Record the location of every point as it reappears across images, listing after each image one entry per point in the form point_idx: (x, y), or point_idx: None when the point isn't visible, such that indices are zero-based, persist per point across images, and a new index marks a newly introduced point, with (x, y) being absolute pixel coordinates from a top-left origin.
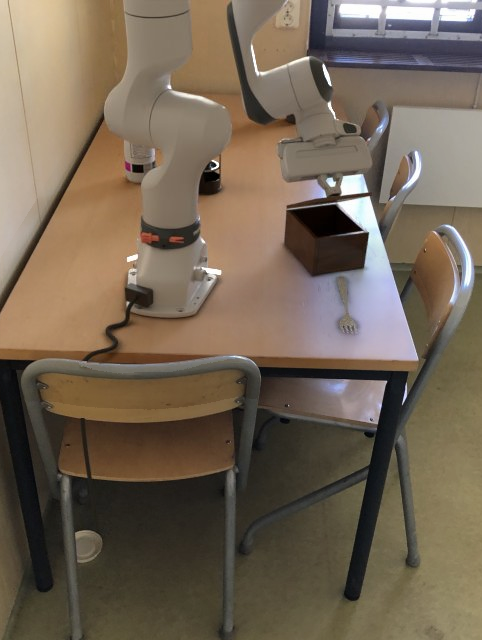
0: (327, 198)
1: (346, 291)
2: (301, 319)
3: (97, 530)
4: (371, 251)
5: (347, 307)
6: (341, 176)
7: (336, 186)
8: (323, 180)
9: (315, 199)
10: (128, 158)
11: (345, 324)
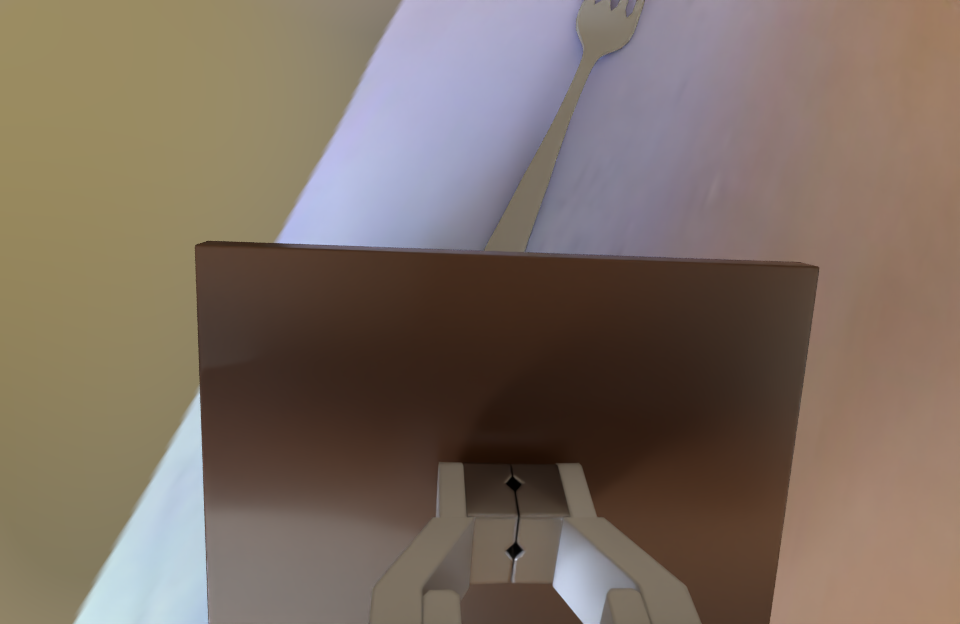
0: (701, 262)
1: (515, 194)
2: (751, 105)
3: None
4: (171, 527)
5: (577, 73)
6: (391, 600)
7: (487, 514)
8: (658, 577)
9: (812, 290)
10: None
11: (618, 16)
